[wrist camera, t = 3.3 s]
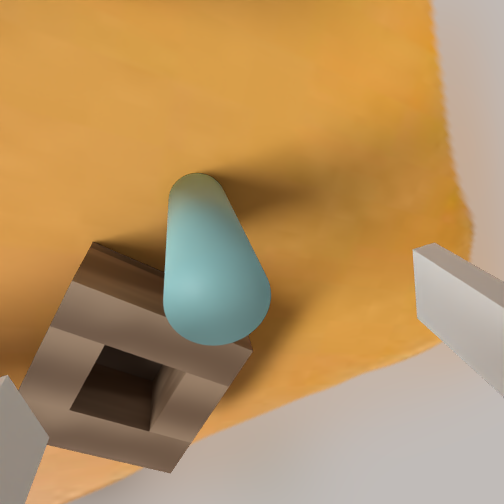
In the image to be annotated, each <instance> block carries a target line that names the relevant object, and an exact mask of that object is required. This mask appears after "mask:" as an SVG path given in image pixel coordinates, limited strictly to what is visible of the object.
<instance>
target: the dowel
mask: <svg viewBox="0 0 504 504" xmlns="http://www.w3.org/2000/svg"><path fill="white" fill-rule="evenodd" d="M270 301H271V289H270V284H269V281H268V279H267V277H266V275H265V272H264V270H263V268H262V266H261V264H260V262H259V260H258V258H257V256H256V254H255V252H254V250H253V248H252V246H251V244H250V242H249V240H248V238H247V236H246V234H245V232H244V230H243V228H242V226H241V224H240V222H239V220H238V218H237V216H236V214H235V212H234V210H233V208H232V206H231V204H230V202H229V200H228V198H227V196H226V194H225V192H224V190H223V188H222V186H221V185H220V184H219V182H218V181H217V180H215V179H214V178H212V177H211V176H209V175H206V174H202V173H192V174H188V175H185V176H183V177H182V178H180V179H179V180H178V181H177V182H176V183H175V184H174V185H173V187H172V189H171V191H170V194H169V203H168V221H167V239H166V258H165V276H164V295H163V306H164V312H165V315H166V318H167V320H168V322H169V323H170V325H171V326H172V328H173V329H174V330H175V331H176V332H177V333H178V334H180V335H181V336H182V337H184V338H186V339H187V340H190V341H192V342H195V343H198V344H202V345H211V346H215V345H225V344H229V343H233V342H235V341H238V340H240V339H242V338H244V337H246V336H247V335H249V334H250V333H251V332H253V331H254V330H255V329H256V328H257V327H258V326H259V325H260V323H261V322H262V321H263V319H264V318H265V316H266V314H267V312H268V309H269V306H270Z"/></svg>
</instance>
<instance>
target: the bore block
mask: <svg viewBox="0 0 504 504" xmlns="http://www.w3.org/2000/svg"><path fill="white" fill-rule="evenodd" d="M164 276H165V273H164V272H162V271H159V270H157V269H155V268H153V267H150V266H148V265H146V264H143V263H141V262H139V261H136V260H134V259H132V258H129V257H127V256H125V255H122V254H120V253H118V252H116V251H113V250H111V249H109V248H106V247H104V246H102V245H99V244H97V243H95V242H93V243H92V245H91V247H90V249H89V250H88V252H87V254H86V256H85V258H84V260H83V262H82V263H81V265H80V267H79V269H78V271H77V273H76V274H75V276H74V278H73V280H72V282H71V284H70V286H69V288H68V290H67V292H66V294H65V296H64V298H63V300H62V302H61V304H60V306H59V308H58V310H57V313H56V315H55V317H54V319H53V321H52V323H51V325H50V327H49V329H48V331H47V333H46V335H45V337H44V339H43V341H42V343H41V345H40V347H39V349H38V351H37V353H36V355H35V357H34V359H33V361H32V364H31V366H30V368H29V370H28V372H27V374H26V376H25V378H24V380H23V382H22V384H21V386H20V388H19V390H18V391H19V393H20V394H21V396H22V397H23V399H24V400H25V402H26V403H27V405H28V406H29V408H30V409H31V411H32V412H33V414H34V415H35V417H36V418H37V420H38V421H39V423H40V424H41V426H42V427H43V429H44V430H45V432H46V433H47V435H48V436H49V440H48V443H47V445H50V446H55V447H59V448H63V449H67V450H72V451H76V452H80V453H85V454H89V455H93V456H98V457H102V458H106V459H111V460H115V461H119V462H124V463H128V464H132V465H137V466H141V467H145V468H150V469H154V470H159V471H163V472H167V473H171V472H172V471H173V469H174V468H175V466H176V465H177V463H178V462H179V460H180V459H181V457H182V456H183V454H184V453H185V451H186V450H187V448H188V447H189V445H190V444H191V442H192V441H193V439H194V438H195V436H196V435H197V433H198V432H199V431H200V429H201V428H202V426H203V425H204V423H205V422H206V420H207V419H208V417H209V416H210V414H211V413H212V411H213V410H214V408H215V407H216V405H217V404H218V402H219V401H220V399H221V398H222V396H223V395H224V393H225V392H226V391H227V389H228V388H229V386H230V385H231V383H232V382H233V380H234V379H235V377H236V376H237V374H238V373H239V371H240V370H241V368H242V367H243V365H244V364H245V362H246V361H247V359H248V358H249V356H250V355H251V353H252V352H253V349H252V346H251V342H250V339H249V336H248V335H247V336H246V337H244V338H242V339H240V340H238V341H235V342H233V343H229V344H225V345H215V346H211V345H202V344H198V343H195V342H192V341H190V340H187V339H186V338H184V337H182V336H181V335H180V334H178V333H177V332H176V331H175V330H174V329H173V328H172V326H171V325H170V323H169V322H168V320H167V318H166V315H165V312H164V306H163V295H164Z"/></svg>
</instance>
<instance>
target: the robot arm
mask: <svg viewBox="0 0 504 504" xmlns="http://www.w3.org/2000/svg"><path fill="white" fill-rule="evenodd" d="M413 261H414V276H415V291H416V305H417V318H418V319H419V320H420V321H421V322H422V323H423V324H424V325H425V326H426V327H427V328H429V329H430V330H431V331H432V332H433V333H434V334H435V335H436V336H437V337H438V338H439V339H441V340H442V341H443V342H444V343H445V344H446V345H447V346H448V347H449V348H450V349H451V350H453V351H454V352H455V353H456V354H457V355H458V356H459V357H460V358H461V359H462V360H464V361H465V362H466V363H467V364H468V365H469V366H470V367H471V368H472V369H473V370H474V371H476V373H478V374H479V375H480V376H481V377H482V378H483V379H484V380H485V381H486V382H487V383H488V384H490V385H491V386H492V387H493V388H494V389H495V390H496V391H497V392H498V393H499V394H501V395H502V396H503V397H504V282H503V281H501V280H499V279H498V278H496V277H494V276H493V275H491V274H489V273H487V272H485V271H484V270H482V269H480V268H478V267H476V266H475V265H473V264H471V263H470V262H468V261H466V260H464V259H462V258H461V257H459V256H457V255H455V254H454V253H452V252H450V251H448V250H447V249H445V248H443V247H441V246H439V245H438V244H436V243H432V244H428V245H425V246H422V247H419V248H416V249H413ZM48 440H49V436H48V435H47V433H46V432H45V430H44V429H43V427H42V426H41V424H40V423H39V421H38V420H37V418H36V417H35V415H34V414H33V412H32V411H31V409H30V408H29V406H28V405H27V403H26V402H25V400H24V399H23V397H22V396H21V394H20V393H19V391H18V390H17V388H16V387H15V385H14V384H13V382H12V381H11V379H10V378H9V376H8V375H6V376H2V377H0V504H25V501H26V499H27V496H28V493H29V491H30V488H31V485H32V483H33V480H34V477H35V475H36V472H37V469H38V467H39V464H40V461H41V459H42V456H43V453H44V451H45V448H46V445H47V443H48Z"/></svg>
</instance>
